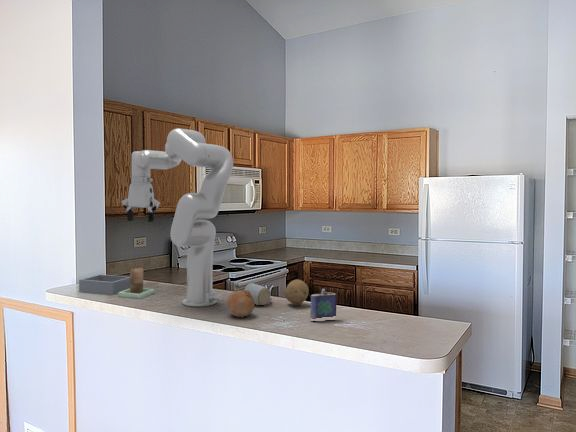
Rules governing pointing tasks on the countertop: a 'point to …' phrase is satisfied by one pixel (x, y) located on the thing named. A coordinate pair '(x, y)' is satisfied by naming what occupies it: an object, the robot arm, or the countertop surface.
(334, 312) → the flask
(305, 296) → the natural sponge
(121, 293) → the tray
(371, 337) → the countertop surface
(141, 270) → the walnut cylinder
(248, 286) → the ceramic mug
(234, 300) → the onion
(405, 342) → the countertop surface
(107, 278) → the deep bin
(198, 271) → the robot arm
